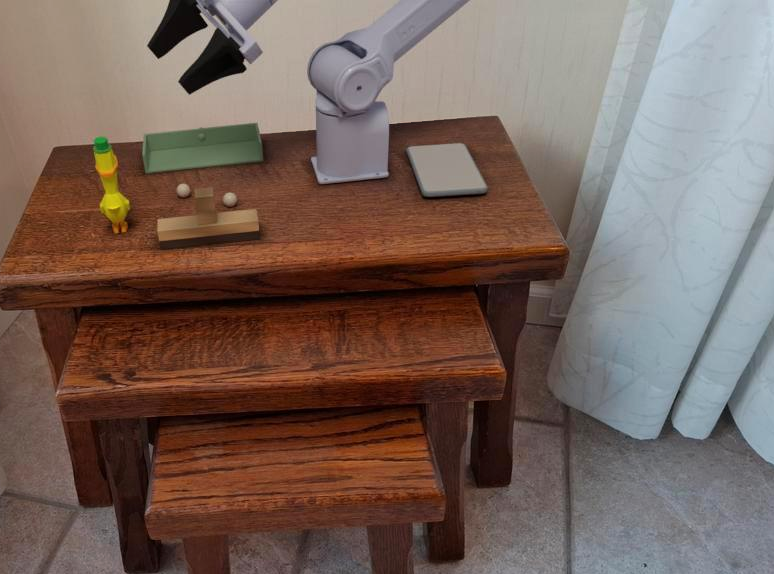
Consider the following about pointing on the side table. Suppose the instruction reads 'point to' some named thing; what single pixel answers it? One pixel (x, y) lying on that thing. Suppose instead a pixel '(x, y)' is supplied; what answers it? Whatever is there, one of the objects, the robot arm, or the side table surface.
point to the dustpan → (202, 147)
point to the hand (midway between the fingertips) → (167, 70)
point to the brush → (207, 225)
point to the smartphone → (445, 170)
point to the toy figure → (110, 185)
